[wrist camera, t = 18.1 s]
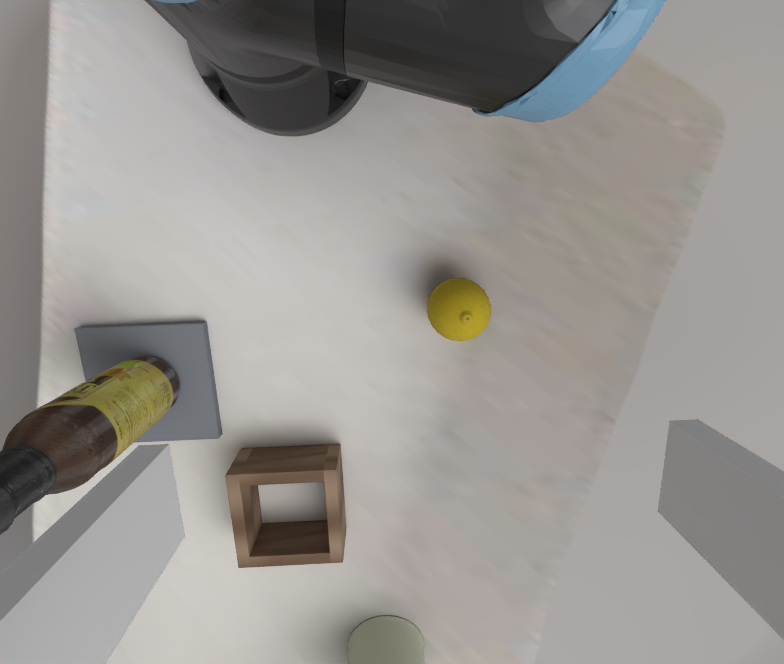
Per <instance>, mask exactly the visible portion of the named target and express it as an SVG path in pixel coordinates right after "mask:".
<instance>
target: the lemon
mask: <svg viewBox="0 0 784 664" xmlns="http://www.w3.org/2000/svg"><path fill="white" fill-rule="evenodd" d="M427 313H428V318H429V320H430V323H431V325H432V326H433V328H434V329H435V330H436V331H437V332H438V333H439V334H440V335H442V336H443V337H445V338H448V339H450V340H454V341H466V340H470V339H472V338H475V337H476V336H478V335H479V334H481V333H482V332H483V330H484V329H485V328H486V326H487V324H488V323H489V319H490V315H491V305H490V302H489V298H488V296H487V295H486V293H485V291H484V290H483V289H482V288H481V287H480V286H479V285H478V284H476V283H475V282H473V281H471V280H468V279H464V278H453V279H449V280H446V281H444V282H442V283H440V284H439V285H438V286H437V287H436V288H435V289H434V290H433V292H432V293H431V295H430V297H429V300H428V305H427Z"/></svg>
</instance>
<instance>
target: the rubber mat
mask: <svg viewBox="0 0 784 664" xmlns="http://www.w3.org/2000/svg"><path fill="white" fill-rule="evenodd" d="M75 333H76V337H77V342H78V347H79V351H80V356H81V361H82V365H83V370H84V374H85V379H86V381H88V380H90V379H91V378H94V377H95V376H97V375H99V374H101V373H103V372H104V371H106V370H108V369H110V368H112V367H113V366H115V365H117V364H119V363H121V362H124V361H128V360H131V359H133V358H137V357H141V356H146V357H154V358H157V359H160V360H162V361H163V362H164V363H166V364H168V365H169V366H170V367H171V368H172V370H173V371H174V373H175V374H176V375H177V377H178V380H179V383H180V386H179V388H180V389H179V390H180V391H179V395H178V399H177V401H176V403H175V404H174V405H173V406H172V407H171V408H170V409H169V410H168V411H167V412H166V413H165V414H164V416H163V417H161V418H160V419H159V420H158V421H157V422H156V423H155V424H154V425H153V426H151V427H150V428H149V429H148V430H147V431H146V432H145V433H144V434H142V435H141V436H140V437H139V438H138V439H137V440H136V441H134V442H152V441H174V440H195V439H217V438H219V437H220V436H221V435H222V429H221V422H220V414H219V407H218V400H217V393H216V386H215V379H214V372H213V365H212V357H211V350H210V343H209V336H208V329H207V322H182V323H157V324H133V325H108V326H83V327H79V328H76V329H75Z"/></svg>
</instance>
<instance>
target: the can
mask: <svg viewBox="0 0 784 664" xmlns="http://www.w3.org/2000/svg"><path fill="white" fill-rule="evenodd" d="M348 664H425V663H424V641H423V637H422V635H421V633H420V631H419V630H418V629H417V627H416V626H414V625H413V624H412V623H411V622H409V621H407V620H405V619H403V618H400V617H396V616H379V617H375V618H371V619H369V620H367V621H365V622H363V623H362V624H360V625H359V626H358V627H357V628H356V629H355V630H354V631H353V633H352V634H351V636H350V639H349V642H348Z"/></svg>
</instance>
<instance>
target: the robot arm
mask: <svg viewBox="0 0 784 664" xmlns="http://www.w3.org/2000/svg"><path fill="white" fill-rule="evenodd" d="M145 1H146V2H147V3H148V4H149V5H150V6H151V7H152V8H153V9H155V10H156V11H157V12H158V13H159V14H160V15H161V16H162V17H163V18H164V19H165V20H166V21H167V22H168V23H169V24H170V25H171V26H172V27H173V28H174V29H175V30H177V31H178V32H179V33H180V34H181V35H182V36H183V37H184V38H185V39H186V40H187V42H188V46H189V50H190V53H191V56H192V59H193V61H194V64H195V66H196V68H197V70H198V72H199V74H200V76H201V77H202V79H203V81H204V82H205V84H206V85H207V87H208V88H209V90H210V91H211V92H212V94H213V95H214V96H215V97H216V98H217V99H218V100H219V102H220V103H221V104H222V105H224V106H225V107H226V108H227V109H228V110H229V111H231V112H232V113H233V114H234V115H236V116H237V117H238V118H240V119H241V120H242V121H244V122H245V123H247V124H249V125H250V126H252V127H254V128H256V129H259V130H261V131H264V132H267V133H270V134H274V135H280V136H303V135H308V134H313V133H316V132H319V131H321V130H324V129H326V128H328V127H330V126H331V125H333V124H335V123H336V122H337V121H339V120H340V119H341V118H343V117H344V116H345V115H346V114H347V113H348V112H349V111H350V110H351V109H352V108H353V106H354V105H355V104H356V103H357V101H358V100H359V98H360V97H361V95H362V93H363V91H364V90H365V88H366V85H367V83H368V81H369V82H372V83H376V84H380V85H384V86H388V87H392V88H396V89H400V90H403V91H407V92H411V93H415V94H419V95H423V96H427V97H431V98H434V99H438V100H442V101H446V102H450V103H454V104H458V105H462V106H465V107H469V108H472V110H473V111H474V112H475V113H477V114H479V115H482V116H489V117H490V116H499V115H501V116H506V117H511V118H516V119H520V120H525V121H530V122H544V121H547V120H552V119H556V118H558V117H562V116H565V115H567V114H568V113H570V112H572V111H573V110H575V109H576V108H578V107H579V106H581V105H582V104H583V103H585V102H586V101H587V100H588V99H590V98H591V97H592V96H593V95H594V94H595V93H596V92H597V91H598V90H599V89H600V88H601V87H602V86H603V85H604V84H605V83H606V82H607V81H608V80H609V79H610V78H611V77H612V76H613V74H614V73H615V72H616V71H617V70H618V69H619V67H620V66H621V65H622V64H623V63H624V61H625V60H626V59H627V58H628V56H629V55H630V54H631V53H632V51H633V50H634V48H635V47H636V46H637V44H638V43H639V41H640V40H641V39H642V37H643V36H644V35H645V33H646V32H647V30H648V29H649V27H650V26H651V24H652V23H653V21H654V20H655V18H656V16H657V15H658V13H659V11H660V10H661V8H662V6H663V5H664V3H665V1H666V0H145ZM658 512H659V513H660V514H661V515H662V516H663V517H664V518H665V519H666V520H667V521H668V522H669V523H670V524H671V525H672V526H673V527H674V528H675V529H676V530H677V532H679V534H680V535H681V536H682V537H683V538H684V539H685V540H686V541H687V542H688V543H689V544H690V545H691V546H692V547H693V548H694V549H695V550H696V551H697V552H698V553H699V554H700V555H701V556H702V557H703V558H704V559H705V560H706V561H707V562H708V563H709V564H710V565H711V566H712V567H713V568H714V569H715V570H716V571H717V572H718V573H719V574H720V575H721V576H722V577H723V578H724V579H725V580H726V581H727V582H728V583H729V585H730V586H731V587H733V588H734V590H735V591H736V592H737V593H738V594H739V595H740V596H741V597H742V598H743V599H744V600H745V601H746V602H747V603H748V604H749V605H750V606H751V607H752V608H753V609H754V610H755V611H756V612H757V613H758V614H759V615H760V616H761V617H762V618H763V619H764V620H765V621H766V622H767V623H768V624H769V625H770V626H771V627H772V628H773V629H774V630H775V631H776V632H777V633H778V634H779V636H780V637H781V638H782V639H783V640H784V472H783V471H782V470H780V469H779V468H777V467H776V466H774V465H772V464H771V463H769V462H767V461H766V460H764V459H762V458H761V457H759V456H757V455H756V454H754V453H752V452H751V451H749V450H747V449H746V448H744V447H742V446H741V445H739V444H737V443H736V442H734V441H732V440H731V439H729V438H728V437H726V436H724V435H723V434H721V433H719V432H718V431H716V430H714V429H713V428H711V427H709V426H708V425H706V424H704V423H703V422H701V421H700V420H679V421H669V429H668V437H667V444H666V452H665V460H664V468H663V475H662V483H661V491H660V499H659V506H658ZM184 536H185V533H184V528H183V522H182V516H181V510H180V505H179V499H178V493H177V487H176V482H175V476H174V470H173V464H172V459H171V453H170V447H169V444H162V445H140V446H138V447H137V448H136V449H135V450H134V451H133V452H131V453H130V454H129V455H128V456H127V457H126V458H125V459H124V460H123V461H122V462H121V463H119V464H118V465H117V466H116V467H115V468H114V469H113V470H112V471H111V472H110V473H109V474H108V475H106V476H105V477H104V478H103V479H102V480H101V481H100V482H99V483H98V484H97V485H96V486H95V487H93V488H92V489H91V490H90V491H89V492H88V493H87V494H86V495H85V496H84V497H83V498H82V499H80V500H79V501H78V502H77V503H76V504H75V505H74V506H73V507H72V508H71V509H70V510H69V511H67V512H66V513H65V514H64V515H63V516H62V517H61V518H60V519H59V520H58V521H57V522H56V523H54V524H53V525H52V526H51V527H50V528H49V529H48V530H47V531H46V532H45V533H44V534H43V535H41V536H40V537H39V538H38V539H37V540H36V541H35V542H34V543H33V544H32V545H31V546H30V547H28V548H27V549H26V550H25V551H24V552H23V553H22V554H21V555H20V556H19V557H18V558H17V559H15V560H14V561H13V562H12V563H11V564H10V565H9V566H8V567H7V568H6V569H5V570H4V571H3V572H1V573H0V664H106V662H107V661H108V659H109V657H110V656H111V654H112V653H113V651H114V649H115V648H116V646H117V644H118V643H119V641H120V640H121V638H122V636H123V635H124V633H125V632H126V630H127V628H128V627H129V625H130V623H131V622H132V620H133V619H134V617H135V615H136V614H137V612H138V611H139V609H140V607H141V606H142V604H143V603H144V601H145V599H146V598H147V596H148V594H149V593H150V591H151V590H152V588H153V586H154V585H155V583H156V582H157V580H158V578H159V577H160V575H161V574H162V572H163V570H164V569H165V567H166V565H167V564H168V562H169V561H170V559H171V557H172V556H173V554H174V553H175V551H176V549H177V548H178V546H179V545H180V543H181V541H182V540H183V538H184Z"/></svg>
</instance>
